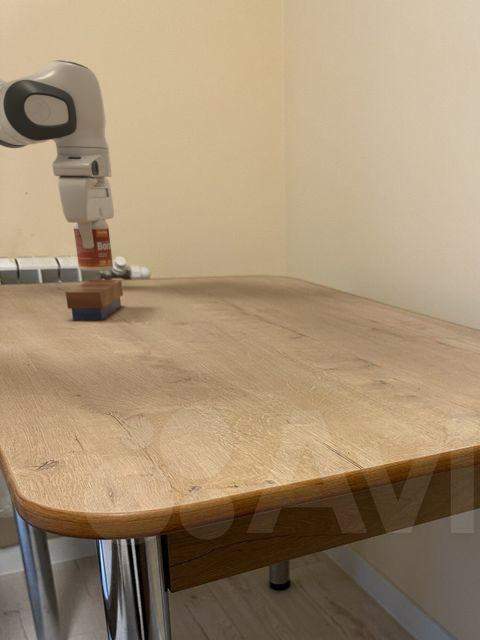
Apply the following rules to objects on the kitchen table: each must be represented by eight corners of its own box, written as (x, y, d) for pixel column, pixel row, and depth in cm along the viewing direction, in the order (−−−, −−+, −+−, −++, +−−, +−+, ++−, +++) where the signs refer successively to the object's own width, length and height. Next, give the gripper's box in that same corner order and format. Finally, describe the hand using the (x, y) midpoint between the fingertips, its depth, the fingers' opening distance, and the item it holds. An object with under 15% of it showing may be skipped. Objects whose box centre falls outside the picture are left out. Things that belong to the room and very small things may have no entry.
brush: (103, 321, 105) (100, 292, 104) (69, 320, 105) (65, 292, 103) (124, 306, 117) (121, 280, 116) (93, 306, 117) (89, 279, 115)
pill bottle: (104, 272, 131) (97, 208, 127) (73, 271, 132) (64, 207, 128) (118, 268, 137) (111, 207, 133) (88, 267, 138) (80, 206, 133)
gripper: (83, 167, 137) (93, 242, 142) (48, 164, 118) (60, 250, 123) (117, 167, 137) (125, 242, 143) (87, 164, 118) (97, 251, 124)
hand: (95, 246), depth 133 cm, fingers closed on pill bottle, 6 cm apart
